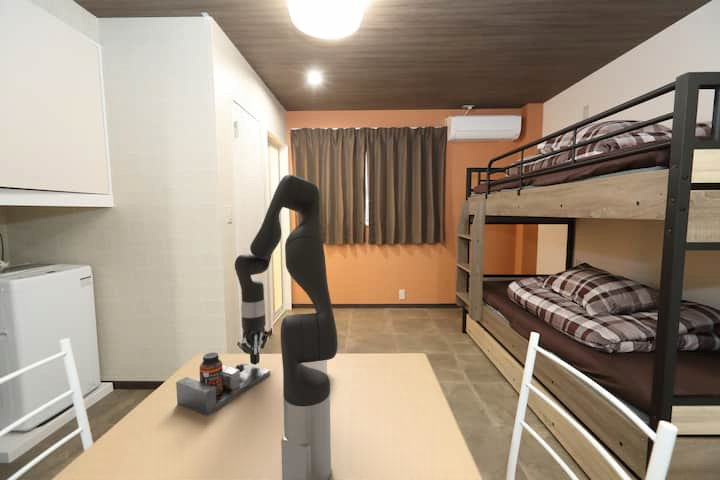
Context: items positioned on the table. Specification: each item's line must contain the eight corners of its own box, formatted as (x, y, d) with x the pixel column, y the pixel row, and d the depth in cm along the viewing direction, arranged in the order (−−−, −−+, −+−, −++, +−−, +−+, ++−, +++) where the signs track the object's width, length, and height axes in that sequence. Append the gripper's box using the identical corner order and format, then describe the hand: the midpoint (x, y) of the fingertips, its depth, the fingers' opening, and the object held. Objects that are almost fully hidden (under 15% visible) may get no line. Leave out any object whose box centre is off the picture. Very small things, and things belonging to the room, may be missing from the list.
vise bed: (207, 415, 85) (205, 392, 85) (177, 404, 90) (176, 381, 90) (269, 374, 107) (269, 355, 106) (242, 367, 112) (242, 349, 111)
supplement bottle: (209, 401, 89) (208, 361, 88) (195, 395, 92) (194, 357, 91) (227, 390, 94) (226, 353, 93) (214, 385, 97) (212, 349, 96)
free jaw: (231, 391, 94) (230, 375, 94) (209, 383, 98) (208, 368, 98) (253, 377, 102) (253, 362, 102) (232, 370, 106) (232, 356, 106)
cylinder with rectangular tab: (322, 383, 101) (322, 346, 100) (295, 381, 103) (294, 344, 102) (329, 369, 110) (329, 335, 109) (304, 367, 111) (303, 333, 110)
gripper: (247, 320, 100) (248, 374, 101) (275, 309, 112) (276, 357, 113) (229, 317, 103) (231, 369, 105) (259, 306, 115) (260, 353, 116)
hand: (255, 363), depth 109 cm, fingers closed
